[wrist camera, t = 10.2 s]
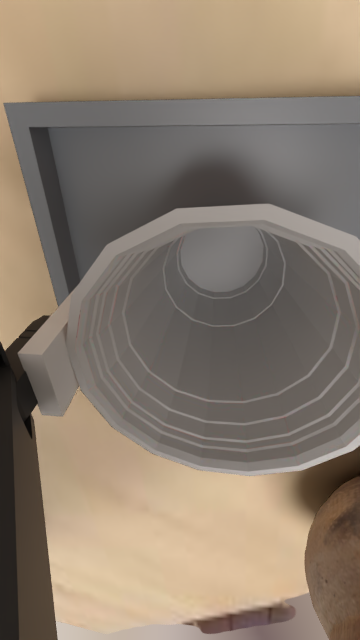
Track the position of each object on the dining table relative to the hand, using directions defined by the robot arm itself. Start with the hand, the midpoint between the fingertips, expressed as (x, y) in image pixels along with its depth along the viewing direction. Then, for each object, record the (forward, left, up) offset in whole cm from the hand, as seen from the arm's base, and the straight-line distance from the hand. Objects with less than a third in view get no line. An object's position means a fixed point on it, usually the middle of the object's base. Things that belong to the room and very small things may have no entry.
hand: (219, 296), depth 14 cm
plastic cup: (0, 0, -6) cm, 6 cm away
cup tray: (0, 0, -7) cm, 7 cm away
